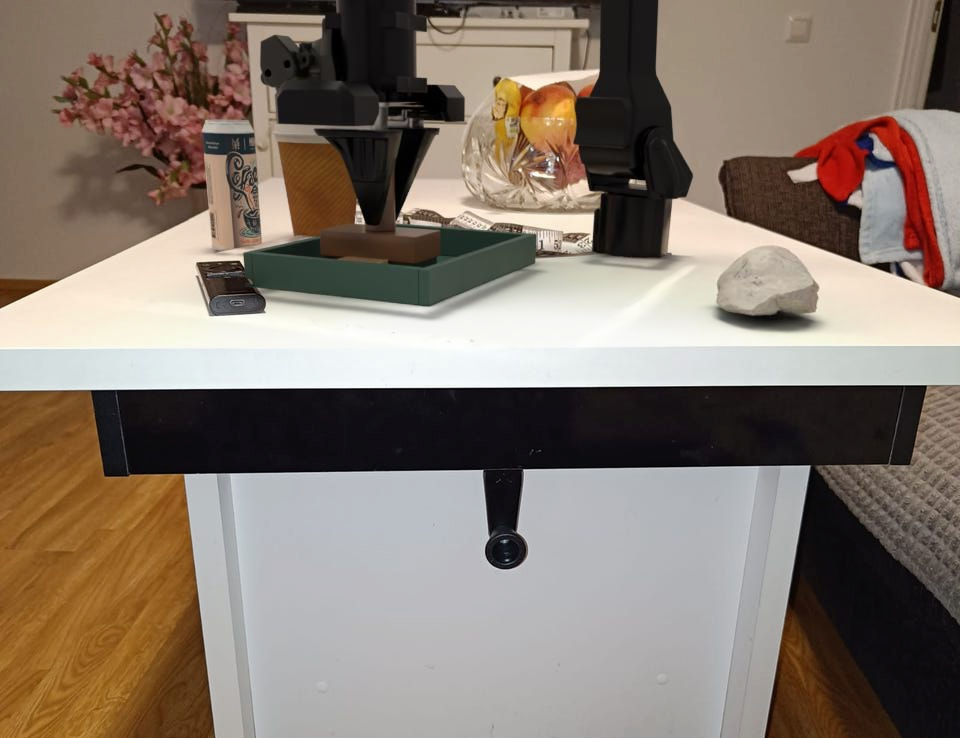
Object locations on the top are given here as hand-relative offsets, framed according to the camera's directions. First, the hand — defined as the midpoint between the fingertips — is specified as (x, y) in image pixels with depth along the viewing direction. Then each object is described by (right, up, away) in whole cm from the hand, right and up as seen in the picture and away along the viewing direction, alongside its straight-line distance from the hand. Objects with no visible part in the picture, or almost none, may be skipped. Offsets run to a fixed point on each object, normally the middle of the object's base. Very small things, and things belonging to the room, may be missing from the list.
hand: (381, 223), depth 73 cm
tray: (+1, -4, +5) cm, 6 cm away
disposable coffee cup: (-9, +6, +27) cm, 29 cm away
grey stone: (+28, -8, -5) cm, 30 cm away
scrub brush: (0, -4, +2) cm, 4 cm away
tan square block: (-2, -5, -2) cm, 6 cm away
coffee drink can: (-16, +2, +19) cm, 25 cm away
